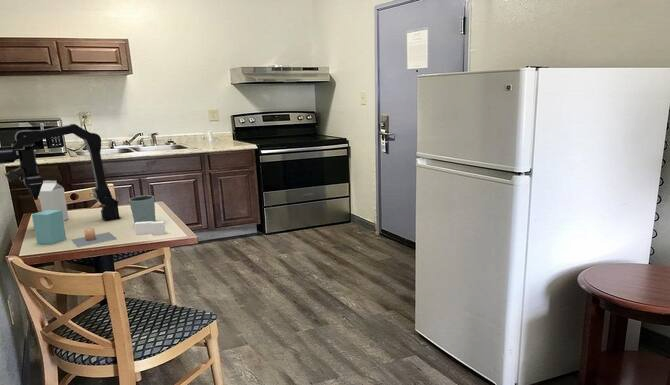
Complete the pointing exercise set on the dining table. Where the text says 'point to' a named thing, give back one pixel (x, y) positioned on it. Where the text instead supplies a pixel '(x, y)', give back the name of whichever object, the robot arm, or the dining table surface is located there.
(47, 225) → the teal rectangular block
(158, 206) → the dining table surface
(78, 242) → the slate mat
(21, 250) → the dining table surface
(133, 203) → the teal tapered cup
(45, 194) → the milk carton
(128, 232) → the dining table surface
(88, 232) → the peach capsule
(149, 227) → the napkin holder
